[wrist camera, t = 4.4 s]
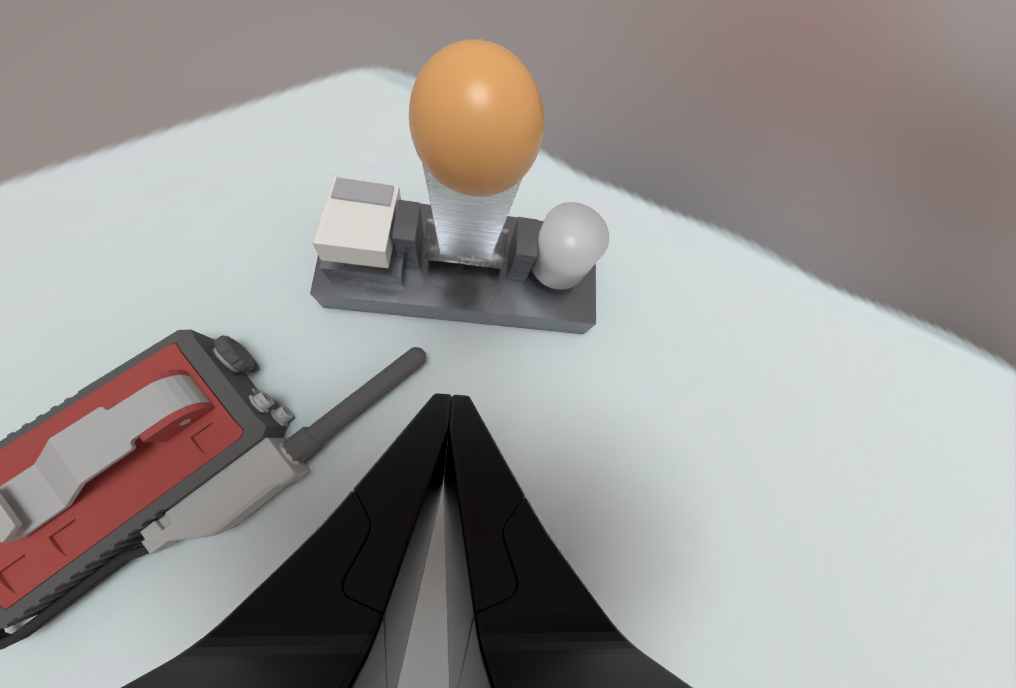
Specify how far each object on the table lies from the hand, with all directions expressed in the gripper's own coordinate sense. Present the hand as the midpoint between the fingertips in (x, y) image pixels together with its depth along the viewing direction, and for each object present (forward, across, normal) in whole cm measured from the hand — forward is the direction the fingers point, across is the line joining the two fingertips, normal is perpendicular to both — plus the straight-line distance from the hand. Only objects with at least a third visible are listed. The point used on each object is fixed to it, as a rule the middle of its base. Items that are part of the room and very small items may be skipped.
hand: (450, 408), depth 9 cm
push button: (+13, -5, 0) cm, 14 cm away
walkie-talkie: (+8, +11, +9) cm, 16 cm away
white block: (+11, +5, -1) cm, 12 cm away
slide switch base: (+14, 0, +2) cm, 14 cm away
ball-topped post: (+12, 0, -1) cm, 12 cm away
